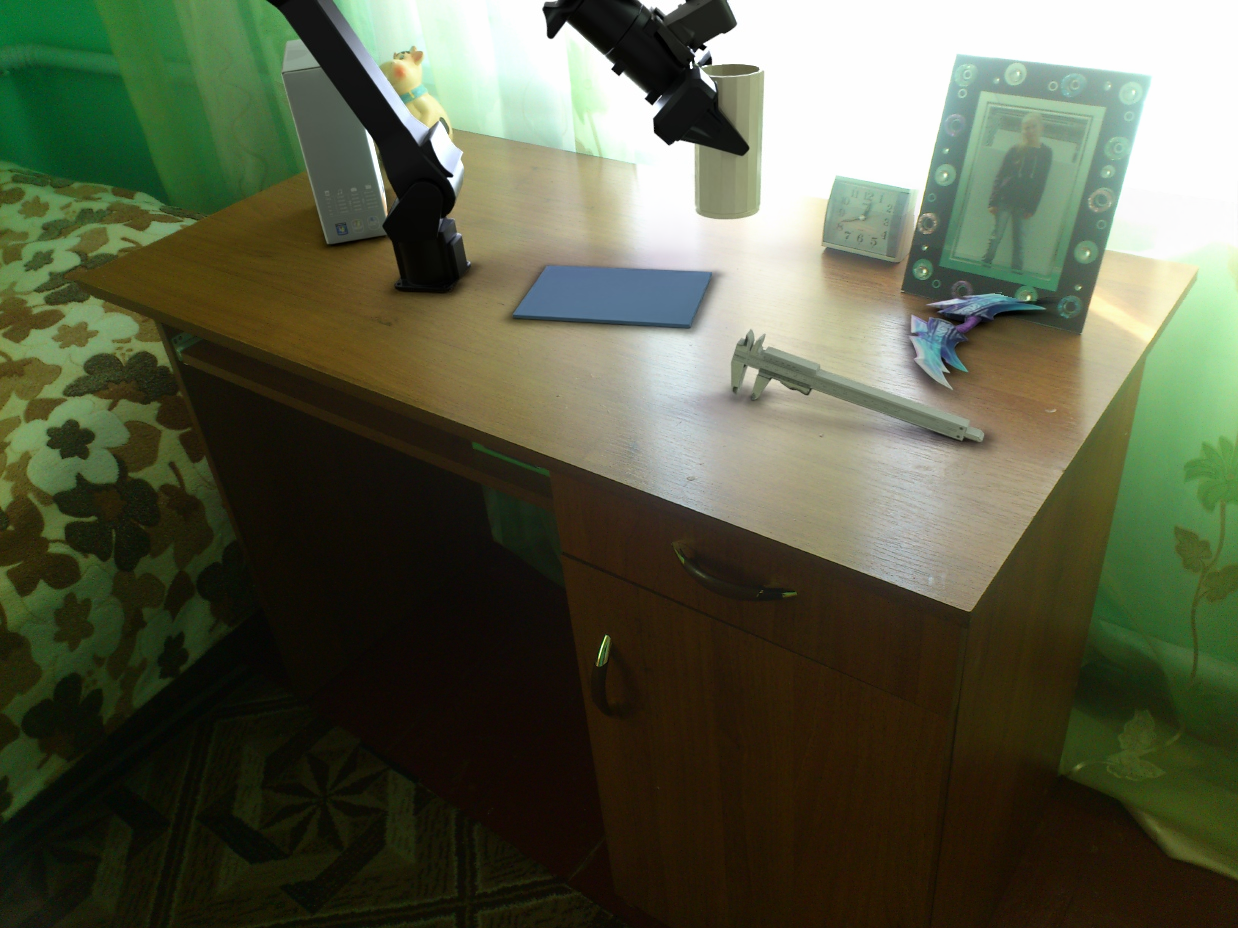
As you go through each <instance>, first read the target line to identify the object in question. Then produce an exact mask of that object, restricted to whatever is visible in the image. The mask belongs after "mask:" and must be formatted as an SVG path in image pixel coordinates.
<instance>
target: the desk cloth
mask: <svg viewBox="0 0 1238 928" xmlns="http://www.w3.org/2000/svg"><path fill="white" fill-rule="evenodd" d="M712 276H713V272H712V271H700V270H673V269H653V268H629V267H628V268H625V267H604V266H603V267H601V266H580V265H579V266H577V265H554V264H553V265H552V264H548V265H546V266H545V268H544V270H543V271H542V272H541V274H540V275H539V276H538V278H537V279H536V281H535V282H534V284H533V285H532V287H531V288H530V289H529V291H528V292H527V293H526V295H525V297H524V298H523V299H522V301H521V302H520V303H519V305H518V306H517V308H516V309H515V310H514V312H513V313H512V318H513V319H524V320H542V321H556V322H557V321H559V322H560V321H561V322H577V323H593V324H594V323H595V324H596V323H597V324H611V325H612V324H613V325H630V326H646V327H647V326H648V327H663V328H684V329H690V328H691V326H692V324H693V322H694V319H695V316H696V315H697V312H698V309H699V307H700V305H701V302H702V300H703V297H704V295H705V293H706V291H707V288H708V286H709V283H710V281H711V278H712Z"/></svg>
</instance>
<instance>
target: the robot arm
mask: <svg viewBox="0 0 1238 928" xmlns="http://www.w3.org/2000/svg"><path fill="white" fill-rule="evenodd" d="M265 1H266V2H268V4H270V5H272V6H273V7H275V8H276V9H277V10H278V11H279V12H280V14H281V15H282V16H283V18H285V20H286V21H287V22H288V24H289V26H290V27H291V29H293V31H294V32H295V34H296V36H297V37H298V38H299V39H301V40H302V42H303V43H304V45H305V46H306V47H307V49H308V50H309V51H310V53H311V54H312V56H313V57H314V58H315V60H316V61H317V63H318V64H319V65H320V67H321V68H322V70H323V71H324V72H325V74H326V75H327V76H328V78H329V79H330V81H331V82H332V83H333V85H334V86H335V88H336V89H337V90H338V92H339V93H340V94H341V96H342V97H343V99H344V100H345V101H346V103H347V104H348V106H349V107H350V108H351V110H352V111H353V112H354V114H355V115H356V117H357V118H358V119H359V121H360V122H361V124H362V125H363V126H364V128H365V129H366V130H367V132H368V133H369V135H370V136H371V137H372V139H373V143H374V144H375V146H376V148H377V149H378V152H379V155H380V159H381V162H382V165H383V168H384V172H385V175H386V178H387V180H388V183H389V184H390V186H391V188H392V190H393V192H394V194H395V196H396V197H395V199H394V201H393V202H392V205H391V207H390V209H389V211H388V212H387V214H388V215H387V217H386V219H385V221H384V223H383V225H382V227H383V229H384V230H385V232H386V234H387V235H386V236H387V237H388V238H389V240H390V242H391V245H392V248H393V253H394V256H395V261H396V264H397V269H398V272H399V277H400V278H399V279H397V281H396V282H395V283H394V285H393V286H394V290H396V291H397V290H398V291H414V292H415V291H416V292H433V293H436V292H437V293H449V292H450V291H451V290H453V289H454V287H455V286H456V285H457V283H459V281H460V280H461V279H462V278H463V276H465V274H466V273H468V271H469V269H470V268H471V267H472V265H471V261H469V260H468V259H467V256H466V250H465V245H464V240H463V236H462V233H458V230H457V225H456V219H455V218H448V217H447V216H449V215H450V214H451V212H452V211H453V209H454V207H455V205H456V202H457V200H458V197H459V195H460V193H461V190H462V187H463V184H464V180H465V179H464V178H465V166H464V164H463V162H462V160H461V159H462V156H463V154H464V152H463V151H462V150H461V149H460V148H459V147H457V146H456V145H455V144H454V142H452V140H451V138H450V137H449V134H448V133H447V130H446V128H445V126H444V125H443V123H442V121H440V120H437V121H436V122H435V123H434V124H433V125H432V126H431V127H428V126H427V125H426V124H424V123H423V122H422V121H420V120H418V119H417V118H416V117H415V116H414V115H413V114H412V113H411V112H410V110H409V109H408V107H407V106H406V105H405V103H404V102H403V100H402V98H401V96H399V94H398V93H397V91H396V90H395V89H394V87H393V86H392V84H391V83H390V81H389V80H388V79H387V77H386V75H385V74H384V72H383V71H382V70H381V68H380V67H379V65H378V64H377V63H376V61H375V60H374V58H373V56H372V55H371V54H370V52H369V51H368V49H367V48H366V46H365V45H364V44H363V42H362V41H361V39H360V38H359V36H358V34H357V33H356V31H355V30H354V28H352V26H351V24H350V23H349V22H348V20H347V19H346V17H345V16H344V15H343V13H342V12H341V9H339V7H338V6H337V4H336V2H335V1H334V0H265ZM541 10H542V13H543V15H544V19H545V23H546V24H545V25H546V37H547V38H548V39H549V40H553V39H555V38H556V36H557V35H558V33H560V31H561V30H562V29H563V27H564V26H565V24H566V25H568V26H569V27H570V28H571V29H573V31H575V32H576V33H577V34H578V35H579V36H580V37H581V38H583V39H584V40H585V41H586V42H587V43H588V44H589V45H591V46H592V48H594V49H595V50H596V51H597V52H598V53H600V55H602V56H603V57H604V58H605V59H607V61H609V62H610V63H611V65H610V70H611V71H612V72H613V73H614V74H615V75H617V76H618V77H620V76H621V75H622V74H623V75H624V76H626V78H628V79H629V80H630V81H631V82H632V83H633V84H634V85H636V86H637V87H638V88H639V89H640V90H641V91H642V92H643V96H644V97H643V99H644V100H645V101H646V102H647V103H648V104H650V105H651V106H652V124H653V134H655V135H656V136H657V137H658V138H659V139H660V140H661V141H663V142H664V143H665V144H666V145H667V146H668V147H670V146H672V145H674V143H675V142H680V141H681V142H685V143H690V144H694V145H695V144H698V145H702V146H706V147H710V148H714V149H717V150H721V151H724V152H728V153H732V154H735V155H739V156H744V155H745V154H746V153H747V152H748V151H749V149H750V147H749V145H748V144H747V142H746V141H745V140H744V138H743V137H742V136H741V134H740V133H739V132H738V130H737V129H736V128H735V126H734V125H733V124H732V123H731V121H730V120H729V119H728V117H727V116H726V115H725V113H724V112H723V111H722V110H721V108H720V107H719V106H718V96H719V91H718V86H717V82H716V81H715V82H713V81H712V80H711V79H710V78H709V76H708V75H707V74H706V73H705V72H704V71H702V70H701V69H700V68H699V67H702V66H706V65H712V64H713V57H712V56H713V55H712V51H711V49H707V48H708V42H709V41H711V40H713V39H714V38H716V37H718V36H719V35H725V34H727V33H730V32H731V31H733V30H734V29H735V28H736V27H737V25H738V19H737V17H736V14H735V12H734V9H733V8H732V4H731V3H730V0H684V3H679V4H678V5H677V7H676V9H674V10H672V11H671V12H669V13H668V14H665V13H664V12H663V11H662V10H661V9H660V8H658V7H657V6H655V7H653V6H650V8H648V7H647V6H645V4H644V3H642V1H640V0H555V1H544V3H543V5H542V7H541ZM706 49H707V51H706V52H705V53H704V54H703V55H702V56H701V57H700V59H698V58H697V55H696V53H697V52H698V50H700V51H702V52H704V51H705V50H706Z"/></svg>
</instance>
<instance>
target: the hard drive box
mask: <svg viewBox="0 0 1238 928" xmlns="http://www.w3.org/2000/svg"><path fill="white" fill-rule="evenodd" d="M280 74H281V79H282V83H283V88H284V90H285V95H286V98H287V102H288V105H289V110H290V112H291V116H292V120H293V124H294V127H295V131H296V135H297V138H298V142H299V146H300V149H301V153H302V157H303V161H304V165H305V168H306V172H307V176H308V180H309V184H310V187H311V190H312V194H313V198H314V201H315V205H316V209H317V213H318V217H319V220H320V225H321V227H322V231H323V234H324V238H325V241H326V244H327V245H335V244H340V243H346V242H351V241H358V240H364V239H369V238H375V237H381V236H382V237H383V236H388V235H387V234H386V232H385V230H384V229H383V227H382V225H383V223H384V221H385V219H386V217H387V215H388V207H387V199H386V192H385V186H384V182H383V177H382V174H381V170H380V166H379V161H378V156H377V151H376V148H375V142H374V140H373V139H372V137H371V136H370V135H369V133H368V132H367V130H366V129H365V128H364V126H363V125H362V124H361V122H360V121H359V119H358V118H357V117H356V115H355V114H354V112H353V111H352V110H351V108H350V107H349V106H348V104H347V103H346V101H345V100H344V99H343V97H342V96H341V94H340V93H339V92H338V90H337V89H336V88H335V86H334V85H333V83H332V82H331V81H330V79H329V78H328V76H327V75H326V74H325V72H324V71H323V70H322V68H321V67H320V65H319V64H318V63H317V61H316V60H315V58H314V57H313V56H312V54H311V53H310V51H309V50H308V49H307V47H306V46H305V45H304V43H303V42H302V40H301V39H300V38H299V39H292V40H287V41H286V43H285V45H284V51H283V57H282V63H281V69H280Z"/></svg>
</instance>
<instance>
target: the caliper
mask: <svg viewBox="0 0 1238 928" xmlns="http://www.w3.org/2000/svg"><path fill="white" fill-rule="evenodd" d="M766 336H767V334H766V333H762V335H760V336H759V337H758V338H757V340H755V333H754V330H753V329H752V328H749V330H748V331H747V333H746V334H745V338H743V337H741V338H740V339H739V340H738V341H737V343H736V345H735V348H734V351H733V355H732V358H731V360H730V388H731V391H732V393H733V394H735V395H738V394H739V392H740V391H741V390H742V387H743V382H744V379H745V376H746V373H747V369H748V367H750V368H752V369H755V370H758V373H757V374H756V376H755V380H754V383H753V387H752V393H751V397H750V400H751V401H755V400H757V399H759V397H760V396H761V394H762V393H763V392H764V390H765V389H766V387H767V386H768V385H769V383H770V382H771V381H772V380H776V381H778V382H779V383H780V384H781V385H783V386H784V387H786V388H787V389H789V390H791V391H797V392H799V393H801V394H802V395H803V396H810V394H811V393H812V391H813V390H814V391H816V392H819V393H822V394H825V395H828V396H832V397H833V398H837V399H839V400H843V401H846V402H849V403H851V404H855V405H857V406H859V407H863V408H866V409H868V410H872V411H874V412H877V413H880V414H883V415H885V416H888V417H890V418H893V419H897V420H899V421H903V422H905V423H907V424H911V425H913V426H916V427H919V428H921V429H924V430H927V431H930V432H933V433H936V434H939V435H940V436H941V435H942V436H944V437H947V438H950V439H953V440H955V441H958V442H963V440H964V439H965V438H966V439H969V440H971V441H974V442H978V443H982V442H983V440H984V438H985V433H984V432H983V431H982V429H979V428H976V427H973V426H971V425H970V423H971V420H970V419H967V418H964V417H961V416H959V415H955V414H953V413H949V412H947V411H943V410H941V409H938V408H935V407H932V406H929V405H926V404H924V403H920V402H919V401H915V400H912V399H909V398H907V397H903V396H900V395H898V394H894V393H891V392H889V391H886V390H883V389H880V388H877V387H874V386H871V385H868V384H865V383H862V382H859V381H856V380H855V379H851V378H847V377H846V376H842V375H839V374H836V373H833V372H831V371H827V370H825V369H823V368H822V369H821V364H820V363H818V362H815V361H812V360H810V359H806V358H803V357H800V356H798V355H795V354H793V353H789V352H787V351H785V350H781V349H778V348H775V347H772V346H767V347H766V349H764V346H763V345H764V342H765V339H766Z"/></svg>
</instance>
